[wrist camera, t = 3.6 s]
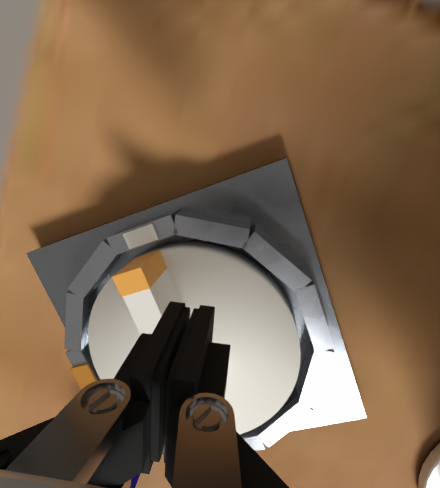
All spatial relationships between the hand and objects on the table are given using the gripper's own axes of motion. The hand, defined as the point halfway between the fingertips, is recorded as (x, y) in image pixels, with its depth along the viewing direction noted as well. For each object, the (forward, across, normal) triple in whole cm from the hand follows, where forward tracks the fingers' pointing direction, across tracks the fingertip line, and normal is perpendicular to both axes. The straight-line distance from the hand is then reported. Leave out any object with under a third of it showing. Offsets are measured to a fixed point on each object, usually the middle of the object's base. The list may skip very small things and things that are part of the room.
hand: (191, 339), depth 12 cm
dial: (+9, +1, +6) cm, 11 cm away
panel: (+11, +1, +6) cm, 13 cm away
